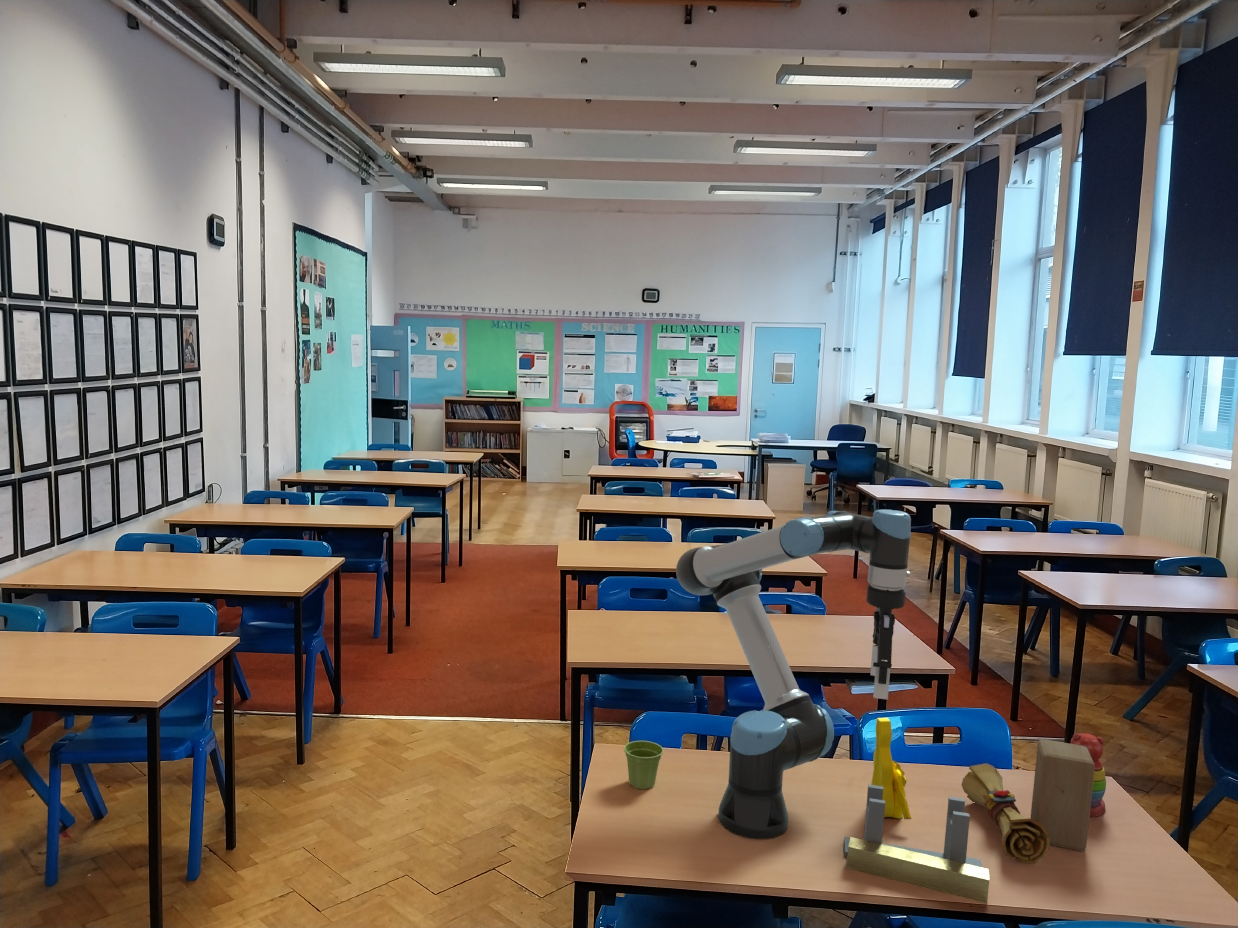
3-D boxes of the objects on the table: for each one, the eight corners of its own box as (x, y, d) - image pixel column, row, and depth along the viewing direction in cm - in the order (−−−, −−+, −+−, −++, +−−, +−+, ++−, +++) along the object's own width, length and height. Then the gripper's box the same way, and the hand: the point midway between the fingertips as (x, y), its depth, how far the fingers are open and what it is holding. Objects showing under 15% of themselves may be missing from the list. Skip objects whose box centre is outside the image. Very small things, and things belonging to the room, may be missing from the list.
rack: (844, 857, 174) (849, 797, 173) (844, 839, 181) (848, 781, 180) (985, 882, 168) (991, 819, 167) (979, 861, 175) (985, 801, 174)
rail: (846, 869, 171) (848, 846, 170) (848, 859, 174) (850, 836, 174) (987, 904, 161) (989, 879, 161) (986, 893, 165) (988, 868, 164)
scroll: (1049, 868, 174) (1054, 822, 173) (1001, 865, 175) (1006, 818, 174) (999, 802, 201) (1003, 762, 200) (958, 799, 202) (961, 759, 201)
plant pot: (624, 772, 208) (626, 738, 207) (663, 776, 206) (665, 742, 205) (619, 790, 198) (621, 755, 197) (659, 795, 197) (661, 759, 196)
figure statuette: (917, 833, 185) (926, 736, 183) (882, 832, 185) (889, 735, 183) (889, 793, 203) (896, 704, 201) (857, 792, 203) (863, 703, 200)
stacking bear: (1102, 801, 203) (1110, 730, 202) (1109, 821, 194) (1118, 747, 192) (1052, 792, 207) (1059, 721, 205) (1057, 811, 198) (1064, 737, 196)
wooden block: (1034, 843, 183) (1043, 754, 181) (1029, 821, 193) (1037, 736, 191) (1086, 853, 180) (1096, 763, 178) (1078, 830, 189) (1087, 744, 187)
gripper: (911, 603, 161) (902, 711, 163) (901, 574, 185) (893, 669, 187) (870, 598, 163) (861, 705, 165) (865, 571, 187) (858, 664, 189)
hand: (878, 686), depth 176 cm, fingers open, 13 cm apart
